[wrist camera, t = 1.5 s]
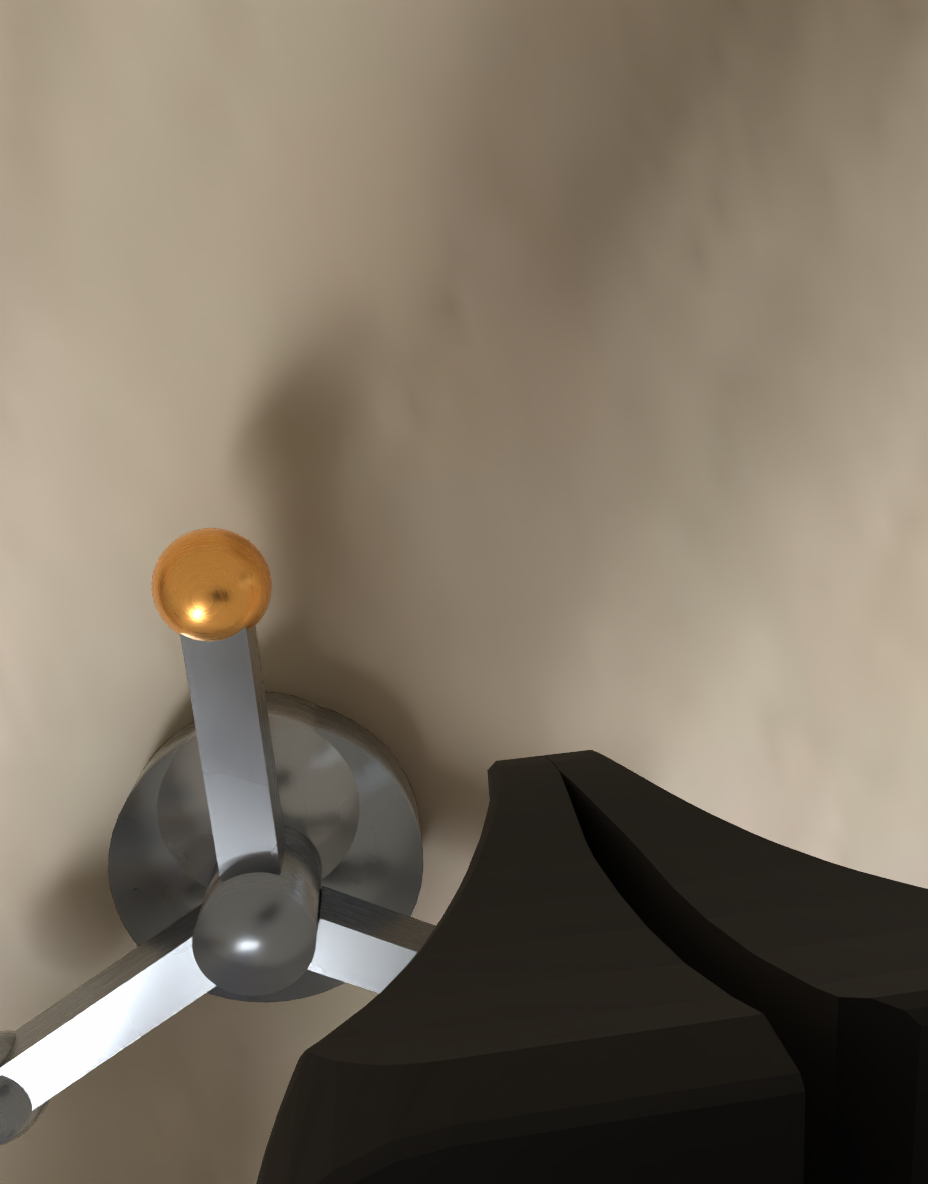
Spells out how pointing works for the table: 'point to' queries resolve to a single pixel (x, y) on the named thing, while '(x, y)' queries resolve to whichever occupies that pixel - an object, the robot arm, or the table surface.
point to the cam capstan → (235, 846)
